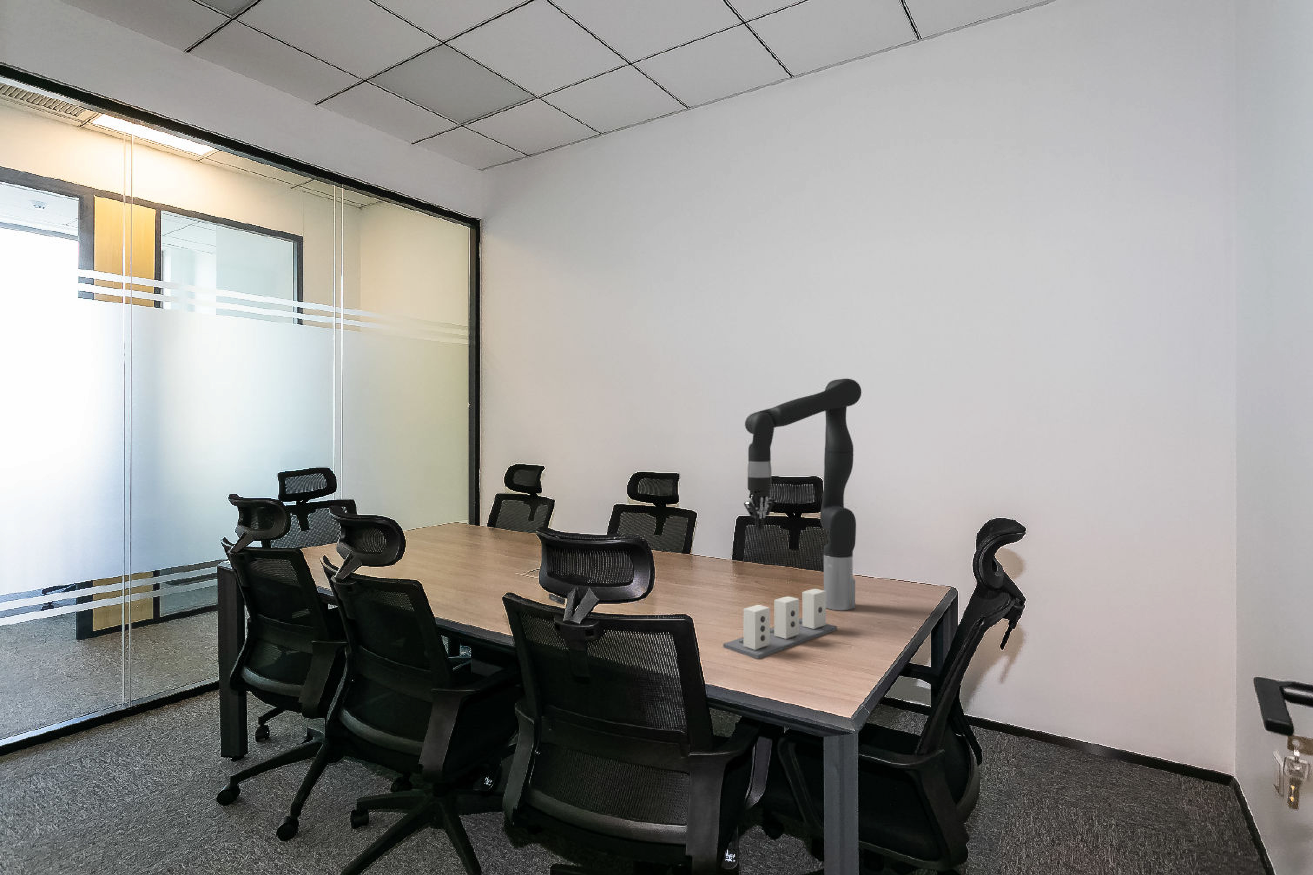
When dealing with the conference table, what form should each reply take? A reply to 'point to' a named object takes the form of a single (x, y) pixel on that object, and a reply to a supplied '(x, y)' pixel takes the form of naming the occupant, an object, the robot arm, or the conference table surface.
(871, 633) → the conference table surface
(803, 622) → the key one dot
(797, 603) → the key two dots
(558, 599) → the media streaming box
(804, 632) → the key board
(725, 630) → the conference table surface
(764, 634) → the key three dots
